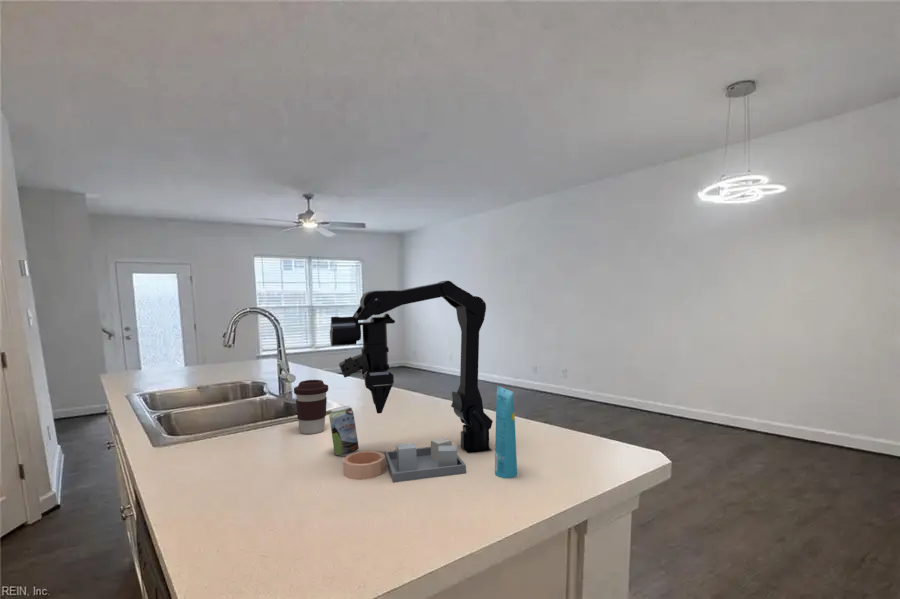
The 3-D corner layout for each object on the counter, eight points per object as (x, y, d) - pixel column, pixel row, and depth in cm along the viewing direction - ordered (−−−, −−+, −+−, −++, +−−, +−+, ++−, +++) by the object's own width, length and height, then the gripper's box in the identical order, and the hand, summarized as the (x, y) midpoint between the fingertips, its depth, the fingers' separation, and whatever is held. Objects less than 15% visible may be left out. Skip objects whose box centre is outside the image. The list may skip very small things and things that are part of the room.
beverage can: (352, 459, 108) (351, 411, 108) (325, 458, 110) (324, 410, 110) (362, 451, 114) (362, 405, 114) (336, 449, 116) (335, 404, 116)
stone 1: (413, 464, 103) (413, 442, 103) (416, 469, 100) (416, 447, 100) (396, 466, 102) (396, 444, 102) (399, 471, 99) (398, 449, 99)
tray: (449, 453, 111) (449, 444, 111) (466, 475, 97) (465, 464, 97) (385, 461, 107) (385, 451, 107) (393, 484, 93) (392, 473, 93)
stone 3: (457, 465, 102) (456, 445, 102) (457, 471, 98) (457, 450, 98) (439, 465, 102) (438, 445, 102) (438, 471, 98) (438, 451, 98)
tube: (524, 479, 94) (523, 390, 94) (505, 484, 92) (504, 392, 92) (505, 468, 101) (504, 384, 101) (487, 472, 99) (486, 386, 99)
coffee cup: (310, 438, 126) (309, 385, 126) (287, 433, 131) (286, 382, 131) (335, 429, 135) (335, 380, 135) (313, 424, 140) (313, 377, 140)
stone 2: (443, 455, 109) (443, 437, 109) (451, 458, 106) (451, 440, 106) (430, 458, 107) (430, 440, 107) (438, 462, 104) (438, 443, 104)
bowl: (382, 463, 105) (381, 449, 105) (386, 478, 96) (386, 462, 96) (343, 468, 103) (343, 453, 103) (344, 483, 94) (344, 467, 94)
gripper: (340, 341, 112) (342, 402, 112) (340, 349, 94) (343, 422, 94) (384, 339, 115) (386, 398, 115) (392, 346, 97) (395, 417, 97)
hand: (377, 408), depth 105 cm, fingers open, 9 cm apart
